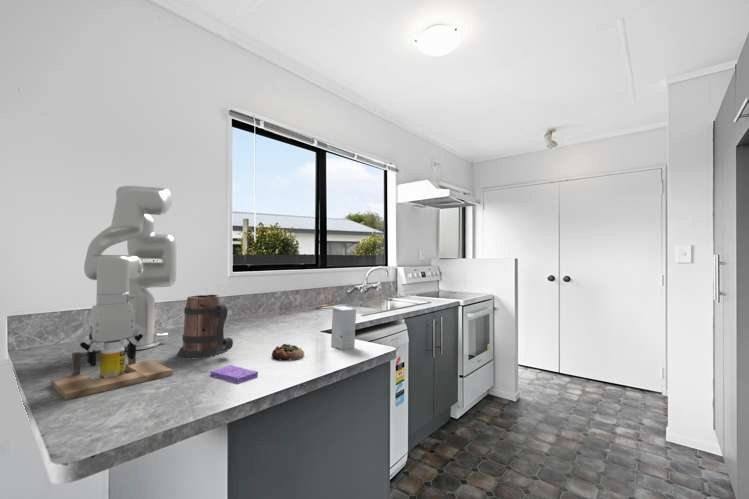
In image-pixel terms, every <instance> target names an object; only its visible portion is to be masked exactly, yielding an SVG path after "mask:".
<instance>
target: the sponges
mask: <svg viewBox="0 0 749 499" xmlns="http://www.w3.org/2000/svg"><path fill="white" fill-rule="evenodd" d="M209 375H210V376H212V377H215V378H219V379H223V380H225V381H229V382H233V383H235V384H240V383H243V382H245V381H248V380H251V379H253V378H254V379H255V378H257V377H259V371H257V370H252V369H248V368H243V367H241V366H238V365H237V366H235V365H233V364H230V365H227V366H226V365H225V366H223V367H220V368H218V369H214V370H210V374H209Z"/></svg>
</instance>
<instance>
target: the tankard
mask: <svg viewBox="0 0 749 499" xmlns="http://www.w3.org/2000/svg"><path fill="white" fill-rule="evenodd" d="M183 309H184V311H183V312H184V323H183V324H184V326H183V335H182V346H181V347H180V348H179V350H178V352H177V353H176V354H175V357H177V358H180V359H185V358H186V359H187V358H190V359H191V360H194V358H198V359H204V358H203V357H208V358H211V357H210V356H213V357H216V356H215V355H218V356H220V355H219V354H221V355H223V353H224V354H226V353H227V352H228V351H229V350H231V349H232V348H233V345H234V342H233V338H231V337H224V336H225V335H224V326H225V322H226V319H227V317H228V307H227V305H226V304H224V303H223V304H222V303H221V302H220V296H219V294H207V295H205V294H204V295H202V294H200V295H198V294H197V295H190V296H187V298H186V303H185V307H184V308H183ZM225 352H226V353H225ZM192 358H193V359H192ZM190 359H189V360H190Z"/></svg>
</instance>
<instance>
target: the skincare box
mask: <svg viewBox="0 0 749 499" xmlns="http://www.w3.org/2000/svg"><path fill="white" fill-rule="evenodd" d="M356 316H357V309H355V308H352V307H350V306H349V307H348V306H345V305H344V306H332V316H331V317H332V319H331V321H332V322H331V337H330V338H331V339H330V345H331V347H335V348H336V349H339V350H341V351H344V350H349V348H351V349H354V348H355V339H356V319H357V318H356Z"/></svg>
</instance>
